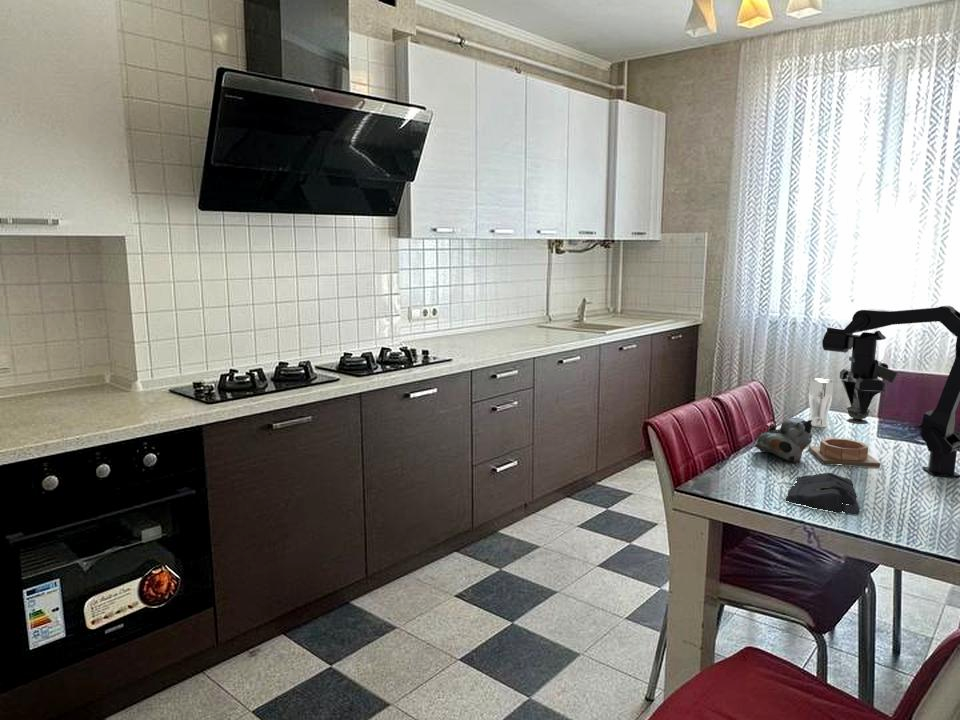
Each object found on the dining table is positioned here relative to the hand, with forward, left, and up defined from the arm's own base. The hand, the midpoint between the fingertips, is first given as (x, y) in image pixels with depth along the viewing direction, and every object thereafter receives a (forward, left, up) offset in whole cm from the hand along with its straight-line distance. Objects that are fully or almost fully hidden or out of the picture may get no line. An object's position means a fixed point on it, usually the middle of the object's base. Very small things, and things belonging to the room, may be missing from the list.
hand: (858, 409), depth 196 cm
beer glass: (+34, 0, -13) cm, 36 cm away
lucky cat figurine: (-6, +21, -13) cm, 26 cm away
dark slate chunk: (-38, +19, -14) cm, 44 cm away
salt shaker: (0, 0, -4) cm, 4 cm away
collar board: (-4, +4, -13) cm, 14 cm away
